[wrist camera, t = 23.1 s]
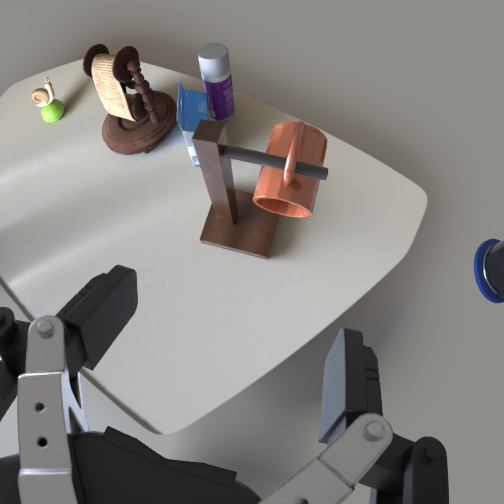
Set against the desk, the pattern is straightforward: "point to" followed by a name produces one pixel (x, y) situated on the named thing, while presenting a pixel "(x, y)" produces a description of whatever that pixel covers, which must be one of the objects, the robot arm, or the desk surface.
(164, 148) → the desk surface
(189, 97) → the tape cartridge
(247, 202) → the mug stand
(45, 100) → the snail figurine
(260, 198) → the mug
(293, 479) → the robot arm
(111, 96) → the scroll
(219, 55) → the container
